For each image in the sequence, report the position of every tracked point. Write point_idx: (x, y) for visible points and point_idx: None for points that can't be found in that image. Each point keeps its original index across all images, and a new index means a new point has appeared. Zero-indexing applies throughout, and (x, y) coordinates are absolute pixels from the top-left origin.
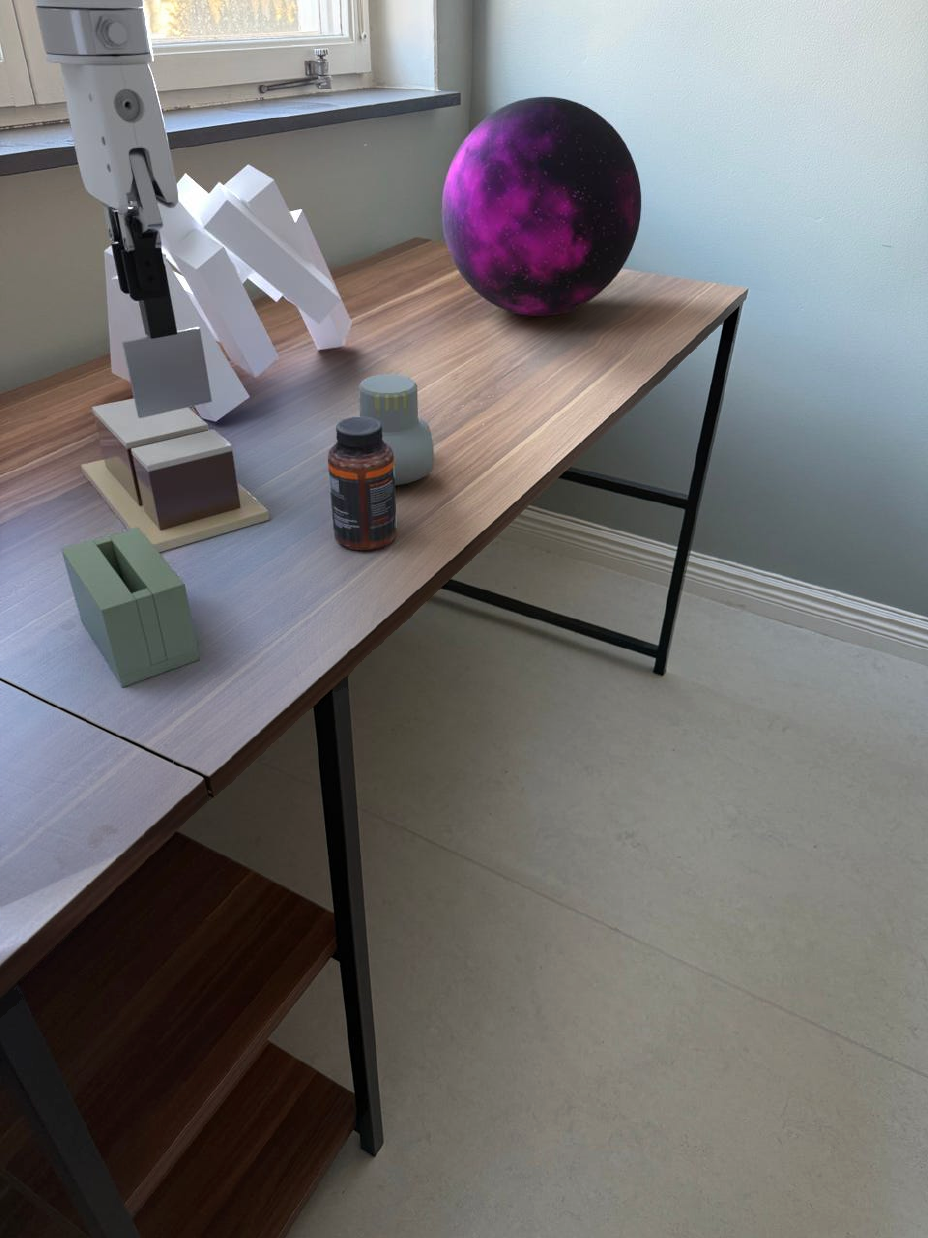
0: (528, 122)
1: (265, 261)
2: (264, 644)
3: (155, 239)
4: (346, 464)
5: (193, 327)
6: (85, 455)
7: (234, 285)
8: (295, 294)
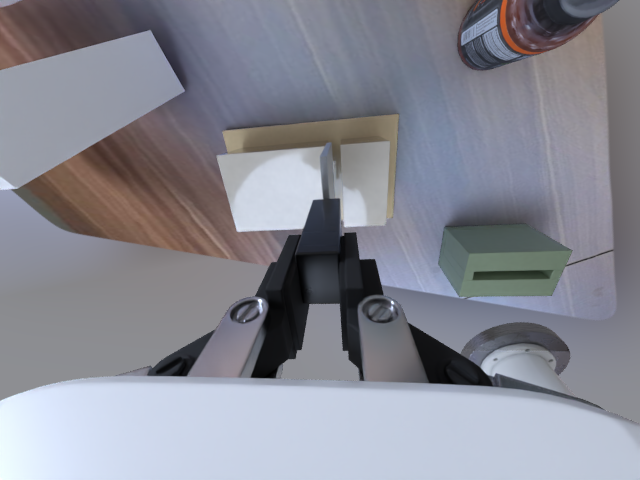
0: None
1: None
2: (547, 184)
3: (427, 336)
4: (578, 34)
5: (71, 81)
6: (216, 213)
7: None
8: None
